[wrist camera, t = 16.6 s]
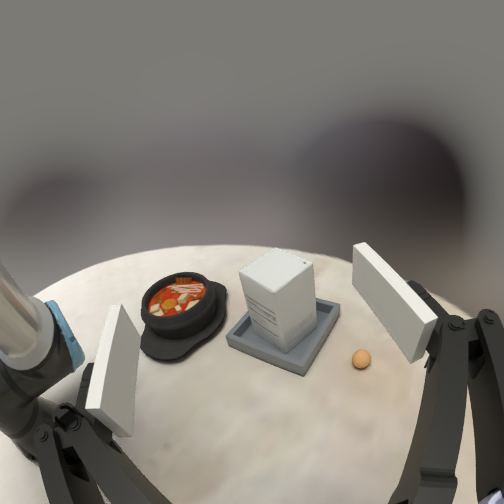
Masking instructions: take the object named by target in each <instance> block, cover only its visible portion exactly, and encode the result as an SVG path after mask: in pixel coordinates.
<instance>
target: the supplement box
mask: <svg viewBox="0 0 504 504" xmlns="http://www.w3.org/2000/svg"><path fill="white" fill-rule="evenodd" d="M238 272H239V276H240V280H241V284H242V288H243V292H244V295H245V299H246V303H247V307H248V311H249V314H250V318H251V322H252V326H253V329H254V332H255V333H256V334H257V335H259V336H260V337H262V338H263V339H264V340H266V341H267V342H269V343H270V344H271V345H273V346H274V347H276V348H277V349H279V350H280V351H281V352H283V353H284V354H286V353H287V352H289V351H290V350H291V349H292V348H293V347H294V346H296V345H297V344H298V343H299V342H300V341H301V340H302V339H304V338H305V337H306V336H307V335H308V334H309V333H310V332H311V331H312V330H314V329H315V328H316V327H317V313H316V297H315V283H314V269H313V263H312V262H310V261H307V260H304V259H302V258H299V257H297V256H295V255H292V254H290V253H288V252H286V251H283V250H281V249H278V248H274V249H273V250H271V251H270V252H268V253H267V254H265V255H263V256H262V257H260V258H259V259H257V260H255V261H254V262H252V263H251V264H249V265H247V266H246V267H244V268H243V269H241V270H239V271H238Z"/></svg>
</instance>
